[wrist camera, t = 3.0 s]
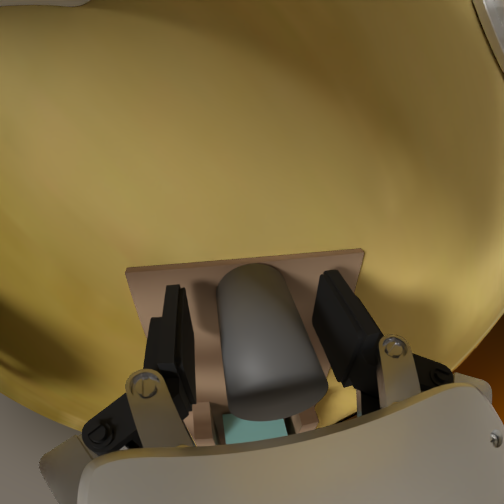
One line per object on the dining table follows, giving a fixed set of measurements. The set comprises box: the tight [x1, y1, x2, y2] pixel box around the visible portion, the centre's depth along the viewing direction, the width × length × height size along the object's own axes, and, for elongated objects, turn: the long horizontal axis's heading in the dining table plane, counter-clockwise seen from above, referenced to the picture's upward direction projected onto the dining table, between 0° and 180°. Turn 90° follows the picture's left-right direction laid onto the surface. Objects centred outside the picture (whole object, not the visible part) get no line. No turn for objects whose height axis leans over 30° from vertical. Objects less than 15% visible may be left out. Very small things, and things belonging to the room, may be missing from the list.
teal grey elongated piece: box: [216, 263, 328, 444], centre depth 14 cm, size 19×4×6 cm, turn 0°
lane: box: [125, 249, 364, 446], centre depth 17 cm, size 25×11×3 cm, turn 0°
